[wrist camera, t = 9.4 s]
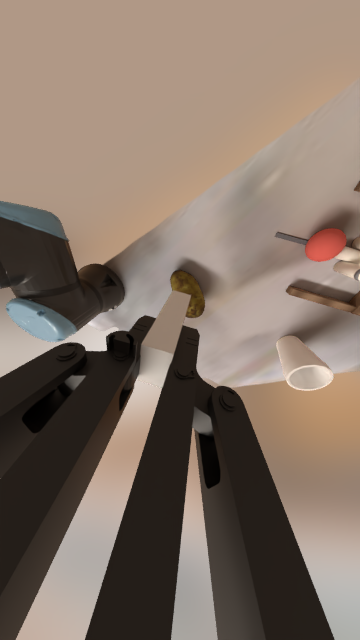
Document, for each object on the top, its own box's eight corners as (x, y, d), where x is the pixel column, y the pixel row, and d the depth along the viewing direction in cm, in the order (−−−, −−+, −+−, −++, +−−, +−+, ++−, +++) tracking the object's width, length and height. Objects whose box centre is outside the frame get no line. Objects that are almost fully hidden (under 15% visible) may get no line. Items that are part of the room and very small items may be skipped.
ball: (333, 265, 32) (303, 257, 36) (357, 234, 29) (321, 228, 32) (327, 265, 29) (294, 255, 32) (354, 229, 25) (314, 223, 29)
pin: (330, 270, 35) (361, 282, 28) (339, 259, 34) (373, 269, 26) (341, 273, 35) (375, 286, 27) (350, 262, 34) (388, 273, 26)
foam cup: (266, 337, 48) (281, 370, 37) (300, 326, 44) (328, 360, 33) (276, 357, 51) (293, 393, 40) (309, 349, 47) (337, 386, 36)
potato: (200, 263, 40) (197, 271, 33) (207, 306, 46) (206, 320, 40) (170, 269, 42) (162, 278, 36) (181, 310, 49) (176, 323, 42)
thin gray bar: (274, 236, 34) (275, 236, 34) (277, 232, 33) (277, 232, 33) (310, 246, 33) (310, 246, 33) (312, 242, 33) (313, 242, 33)
